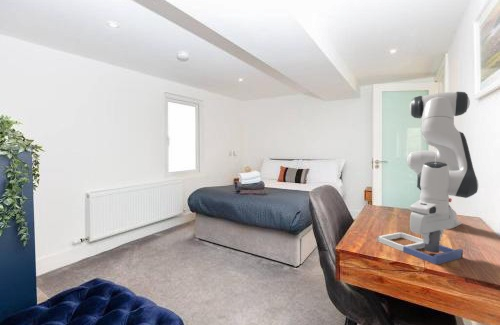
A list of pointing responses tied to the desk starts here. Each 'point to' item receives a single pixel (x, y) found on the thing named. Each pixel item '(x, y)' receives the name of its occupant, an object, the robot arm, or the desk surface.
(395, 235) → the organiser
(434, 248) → the smooth grey pebble
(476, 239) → the desk surface
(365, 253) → the desk surface
